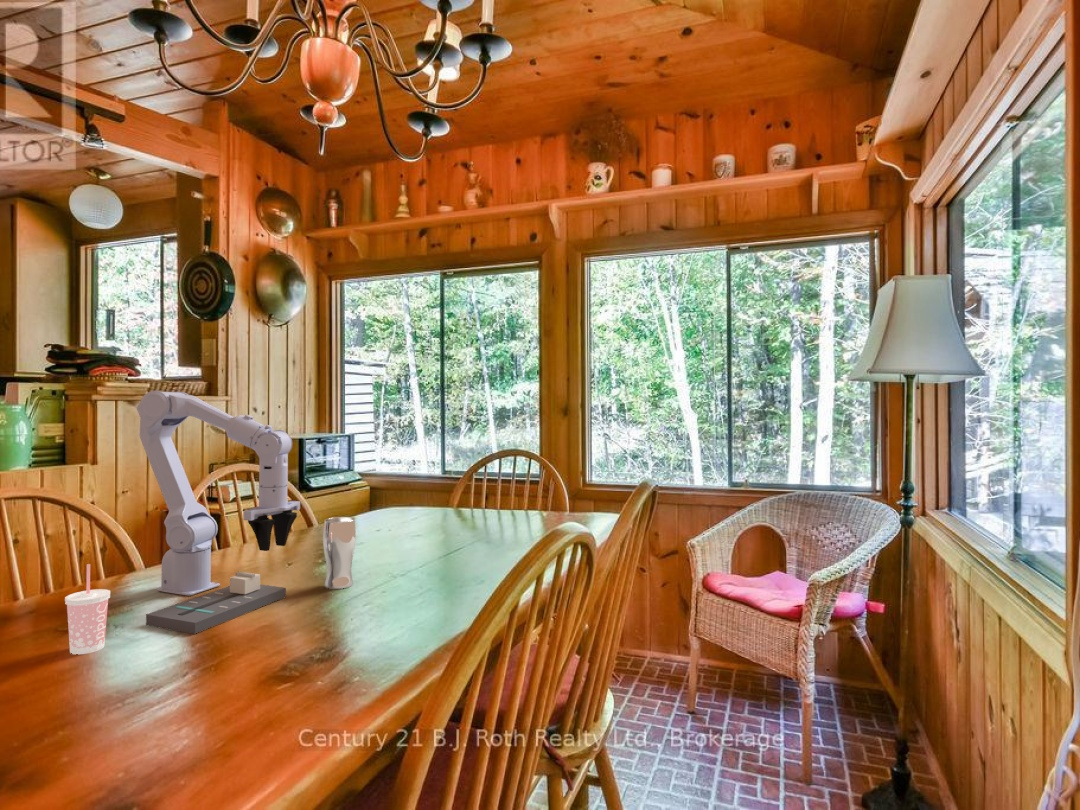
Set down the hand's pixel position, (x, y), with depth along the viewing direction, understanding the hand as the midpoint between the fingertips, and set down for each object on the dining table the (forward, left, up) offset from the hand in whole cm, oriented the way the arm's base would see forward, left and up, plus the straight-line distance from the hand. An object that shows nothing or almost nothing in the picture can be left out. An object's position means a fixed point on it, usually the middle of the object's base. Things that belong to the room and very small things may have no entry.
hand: (272, 547), depth 131 cm
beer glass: (+11, +8, -10) cm, 17 cm away
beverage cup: (-5, -36, -10) cm, 37 cm away
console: (0, -14, -9) cm, 16 cm away
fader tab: (0, -7, -7) cm, 10 cm away
